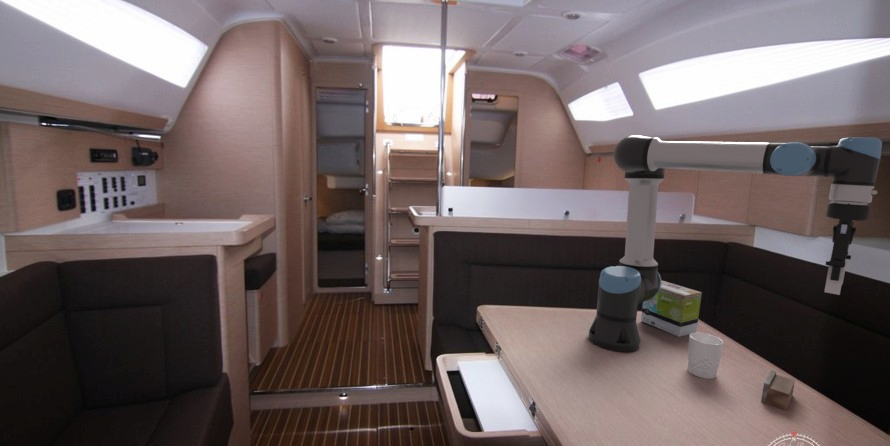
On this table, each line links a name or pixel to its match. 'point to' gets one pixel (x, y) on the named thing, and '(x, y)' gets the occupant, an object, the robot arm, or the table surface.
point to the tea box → (673, 309)
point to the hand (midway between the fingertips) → (833, 288)
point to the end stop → (777, 390)
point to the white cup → (704, 355)
